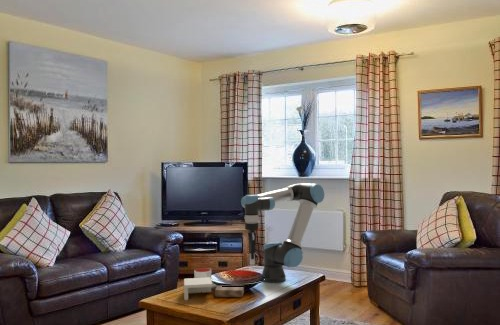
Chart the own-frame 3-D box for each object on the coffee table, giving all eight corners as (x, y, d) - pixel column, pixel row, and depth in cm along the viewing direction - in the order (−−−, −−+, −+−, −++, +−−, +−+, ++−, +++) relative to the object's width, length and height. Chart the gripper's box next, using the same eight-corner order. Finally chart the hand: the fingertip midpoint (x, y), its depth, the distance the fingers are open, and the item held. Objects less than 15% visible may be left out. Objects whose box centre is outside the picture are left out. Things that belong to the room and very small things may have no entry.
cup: (210, 289, 268) (210, 272, 268) (193, 289, 269) (193, 272, 269) (212, 284, 278) (212, 268, 278) (195, 284, 279) (195, 268, 279)
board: (243, 292, 262) (243, 285, 262) (242, 297, 253) (242, 290, 253) (217, 292, 263) (217, 285, 263) (215, 297, 254) (215, 290, 254)
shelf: (210, 291, 264) (210, 277, 264) (212, 298, 250) (212, 283, 250) (184, 292, 262) (184, 278, 262) (184, 300, 248) (184, 285, 248)
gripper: (243, 221, 265) (244, 262, 265) (246, 224, 252) (247, 267, 252) (256, 220, 266) (256, 261, 266) (260, 223, 253) (260, 266, 254)
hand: (252, 264), depth 259 cm, fingers closed
